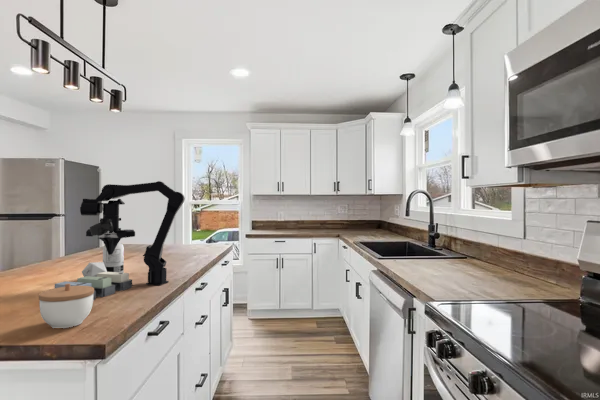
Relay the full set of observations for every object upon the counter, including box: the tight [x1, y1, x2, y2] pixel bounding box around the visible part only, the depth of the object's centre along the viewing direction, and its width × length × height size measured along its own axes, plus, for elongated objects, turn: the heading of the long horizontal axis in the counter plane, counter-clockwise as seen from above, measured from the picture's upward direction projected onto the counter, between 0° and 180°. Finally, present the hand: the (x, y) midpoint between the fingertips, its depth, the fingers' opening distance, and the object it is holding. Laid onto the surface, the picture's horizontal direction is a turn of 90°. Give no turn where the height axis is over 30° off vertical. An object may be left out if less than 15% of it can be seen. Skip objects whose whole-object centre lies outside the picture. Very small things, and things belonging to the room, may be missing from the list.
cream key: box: [97, 272, 130, 282], centre depth 135 cm, size 11×4×6 cm, turn 77°
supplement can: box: [102, 242, 125, 273], centre depth 153 cm, size 8×8×15 cm
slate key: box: [54, 281, 92, 288], centre depth 117 cm, size 11×4×6 cm, turn 77°
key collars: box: [93, 278, 133, 301], centre depth 126 cm, size 13×24×3 cm, turn 167°
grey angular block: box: [81, 261, 107, 277], centre depth 145 cm, size 8×9×10 cm
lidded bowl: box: [38, 284, 94, 329], centre depth 95 cm, size 13×13×11 cm
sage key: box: [76, 276, 111, 288], centre depth 126 cm, size 11×4×6 cm, turn 77°
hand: (110, 254), depth 139 cm, fingers closed
